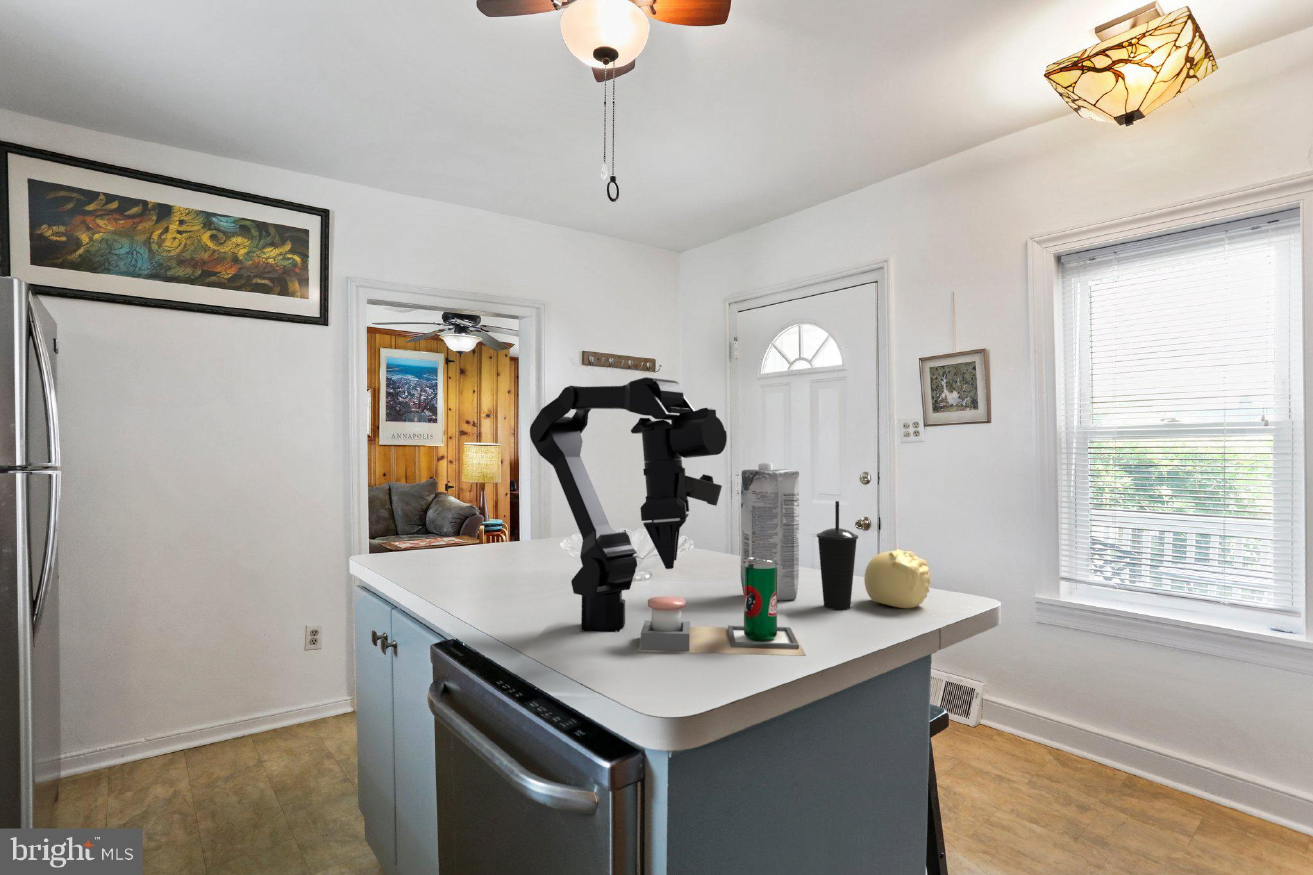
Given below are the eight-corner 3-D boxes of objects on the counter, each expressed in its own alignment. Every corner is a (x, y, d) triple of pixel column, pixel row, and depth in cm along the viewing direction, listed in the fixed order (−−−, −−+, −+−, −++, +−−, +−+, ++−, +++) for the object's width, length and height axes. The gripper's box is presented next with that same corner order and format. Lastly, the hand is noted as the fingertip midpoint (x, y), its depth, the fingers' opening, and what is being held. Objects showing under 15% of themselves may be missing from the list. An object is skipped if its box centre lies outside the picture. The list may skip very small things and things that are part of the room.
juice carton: (803, 600, 131) (804, 463, 132) (754, 603, 128) (755, 463, 129) (782, 591, 140) (783, 462, 140) (736, 594, 137) (737, 462, 137)
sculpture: (923, 615, 121) (923, 555, 121) (857, 606, 127) (857, 549, 127) (936, 603, 130) (936, 548, 130) (873, 595, 137) (873, 543, 137)
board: (636, 655, 96) (636, 646, 96) (644, 629, 110) (644, 621, 110) (806, 659, 94) (806, 651, 94) (792, 632, 108) (792, 625, 108)
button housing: (640, 650, 96) (640, 632, 96) (644, 636, 103) (644, 620, 103) (689, 651, 96) (689, 633, 96) (689, 637, 103) (690, 621, 103)
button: (646, 634, 97) (646, 604, 97) (649, 624, 102) (649, 596, 103) (684, 635, 96) (684, 605, 97) (685, 625, 102) (685, 596, 102)
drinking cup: (843, 613, 121) (843, 503, 121) (808, 606, 127) (808, 500, 127) (866, 607, 126) (866, 501, 126) (831, 600, 132) (831, 499, 132)
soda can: (776, 643, 100) (776, 562, 100) (742, 641, 101) (742, 561, 101) (777, 634, 105) (777, 557, 105) (745, 632, 106) (745, 556, 106)
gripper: (717, 454, 91) (727, 569, 90) (715, 458, 110) (723, 553, 109) (636, 461, 92) (645, 575, 91) (648, 463, 110) (655, 558, 109)
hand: (671, 564), depth 100 cm, fingers open, 9 cm apart
